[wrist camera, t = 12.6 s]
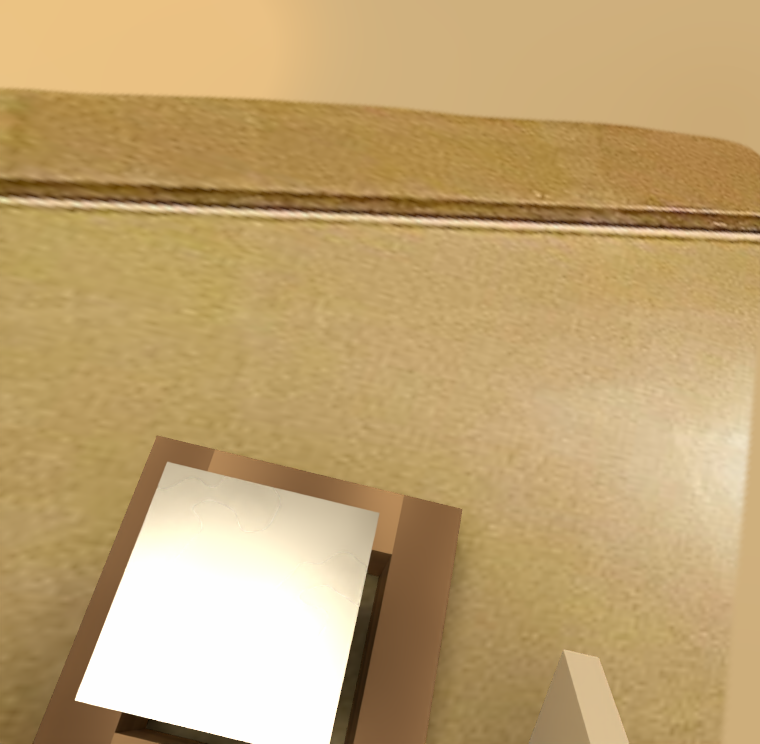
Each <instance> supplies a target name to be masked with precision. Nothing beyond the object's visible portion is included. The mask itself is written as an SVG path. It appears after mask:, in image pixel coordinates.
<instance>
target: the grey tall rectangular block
mask: <svg viewBox="0 0 760 744" xmlns="http://www.w3.org/2000/svg"><path fill="white" fill-rule="evenodd" d="M378 518H379V513H377V512H373V511H369V510H365V509H361V508H357V507H353V506H348V505H344V504H340V503H336V502H332V501H328V500H324V499H319V498H315V497H311V496H307V495H303V494H299V493H295V492H290V491H286V490H282V489H278V488H274V487H270V486H266V485H261V484H257V483H253V482H249V481H245V480H241V479H236V478H232V477H228V476H224V475H220V474H216V473H212V472H207V471H203V470H199V469H195V468H191V467H187V466H183V465H178V464H174V463H170V462H167V464H166V466H165V469H164V471H163V474H162V477H161V479H160V482H159V484H158V487H157V489H156V492H155V495H154V497H153V500H152V502H151V505H150V507H149V510H148V513H147V515H146V518H145V520H144V523H143V526H142V528H141V531H140V533H139V536H138V538H137V541H136V544H135V546H134V549H133V551H132V554H131V556H130V559H129V562H128V564H127V567H126V569H125V572H124V575H123V577H122V580H121V582H120V585H119V587H118V590H117V593H116V595H115V598H114V600H113V603H112V605H111V608H110V611H109V613H108V616H107V618H106V621H105V623H104V626H103V629H102V631H101V634H100V636H99V639H98V642H97V644H96V647H95V649H94V652H93V654H92V657H91V660H90V662H89V665H88V667H87V670H86V672H85V675H84V678H83V680H82V683H81V685H80V688H79V691H78V693H77V696H76V698H75V700H76V701H80V702H84V703H88V704H92V705H97V706H101V707H105V708H109V709H113V710H117V711H121V712H125V713H129V714H134V715H138V716H142V717H146V718H150V719H154V720H158V721H162V722H166V723H171V724H175V725H179V726H183V727H187V728H191V729H195V730H199V731H203V732H208V733H212V734H216V735H220V736H224V737H228V738H232V739H236V740H240V741H245V742H249V743H253V744H329V743H330V738H331V734H332V729H333V724H334V720H335V715H336V711H337V706H338V701H339V697H340V692H341V688H342V683H343V679H344V674H345V669H346V665H347V660H348V656H349V651H350V646H351V642H352V637H353V633H354V628H355V623H356V619H357V614H358V610H359V605H360V601H361V596H362V591H363V587H364V582H365V578H366V573H367V568H368V564H369V559H370V555H371V550H372V546H373V541H374V536H375V532H376V527H377V523H378Z"/></svg>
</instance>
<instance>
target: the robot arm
mask: <svg viewBox="0 0 760 744" xmlns="http://www.w3.org/2000/svg"><path fill="white" fill-rule="evenodd" d="M529 744H629V742H628V739H627V736H626V733H625V730H624V727H623V725H622V722H621V719H620V716H619V713H618V711H617V708H616V705H615V702H614V699H613V696H612V694H611V691H610V688H609V685H608V682H607V679H606V677H605V674H604V671H603V668H602V665H601V662H600V660H599V657H595V656H590V655H586V654H582V653H577V652H573V651H569V650H565V649H563V652H562V654H561V657H560V660H559V662H558V665H557V668H556V671H555V673H554V676H553V679H552V681H551V684H550V687H549V689H548V692H547V695H546V698H545V700H544V703H543V706H542V708H541V711H540V714H539V717H538V719H537V722H536V725H535V727H534V730H533V733H532V735H531V738H530V741H529Z"/></svg>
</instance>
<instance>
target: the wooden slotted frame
mask: <svg viewBox="0 0 760 744" xmlns="http://www.w3.org/2000/svg"><path fill="white" fill-rule="evenodd" d="M167 462H170V463H174V464H178V465H183V466H187V467H191V468H195V469H199V470H203V471H207V472H212V473H216V474H220V475H224V476H228V477H232V478H236V479H241V480H245V481H249V482H253V483H257V484H261V485H266V486H270V487H274V488H278V489H282V490H286V491H290V492H295V493H299V494H303V495H307V496H311V497H315V498H319V499H324V500H328V501H332V502H336V503H340V504H344V505H348V506H353V507H357V508H361V509H365V510H369V511H373V512H377V513H379V518H378V523H377V527H376V532H375V536H374V541H373V546H372V550H371V555H370V559H369V564H368V568H367V574H371V575H376V576H379V580H378V585H377V590H376V594H375V599H374V604H373V609H372V613H371V618H370V623H369V628H368V633H367V637H366V642H365V647H364V652H363V657H362V661H361V666H360V671H359V676H358V680H357V685H356V690H355V695H354V700H353V704H352V709H351V714H350V719H349V723H348V728H347V733H346V738H345V743H344V744H425V741H426V735H427V729H428V723H429V716H430V710H431V704H432V697H433V691H434V685H435V678H436V672H437V666H438V659H439V653H440V647H441V641H442V634H443V628H444V622H445V615H446V609H447V603H448V596H449V590H450V584H451V577H452V571H453V565H454V559H455V552H456V546H457V540H458V533H459V527H460V521H461V514H462V509H460V508H455V507H451V506H447V505H443V504H439V503H435V502H430V501H426V500H422V499H418V498H414V497H410V496H406V495H401V494H397V493H393V492H389V491H385V490H381V489H377V488H372V487H368V486H364V485H360V484H356V483H352V482H348V481H343V480H339V479H335V478H331V477H327V476H323V475H319V474H314V473H310V472H306V471H302V470H298V469H294V468H290V467H285V466H281V465H277V464H273V463H269V462H265V461H261V460H256V459H252V458H248V457H244V456H240V455H236V454H231V453H227V452H223V451H219V450H215V449H211V448H207V447H202V446H198V445H194V444H190V443H186V442H182V441H178V440H173V439H169V438H165V437H161V436H157V437H156V440H155V442H154V445H153V447H152V449H151V452H150V454H149V457H148V459H147V462H146V464H145V467H144V469H143V472H142V474H141V477H140V479H139V482H138V484H137V487H136V489H135V492H134V494H133V497H132V499H131V501H130V504H129V506H128V509H127V511H126V514H125V516H124V519H123V521H122V524H121V526H120V529H119V531H118V534H117V536H116V539H115V541H114V544H113V546H112V549H111V551H110V553H109V556H108V558H107V561H106V563H105V566H104V568H103V571H102V573H101V576H100V578H99V581H98V583H97V586H96V588H95V591H94V593H93V596H92V598H91V601H90V603H89V606H88V608H87V610H86V613H85V615H84V618H83V620H82V623H81V625H80V628H79V630H78V633H77V635H76V638H75V640H74V643H73V645H72V648H71V650H70V653H69V655H68V658H67V660H66V662H65V665H64V667H63V670H62V672H61V675H60V677H59V680H58V682H57V685H56V687H55V690H54V692H53V695H52V697H51V700H50V702H49V705H48V707H47V710H46V712H45V714H44V717H43V719H42V722H41V724H40V727H39V729H38V732H37V734H36V737H35V739H34V742H33V744H207V743H203V742H199V741H194V740H190V739H186V738H182V737H178V736H174V735H170V734H166V733H162V732H158V731H153V730H149V729H145V728H146V725H147V722H148V719H149V718H146V717H142V716H138V715H134V714H129V713H125V712H121V711H117V710H113V709H109V708H105V707H101V706H97V705H92V704H88V703H84V702H80V701H76V700H75V698H76V696H77V693H78V691H79V688H80V685H81V683H82V680H83V678H84V675H85V672H86V670H87V667H88V665H89V662H90V660H91V657H92V654H93V652H94V649H95V647H96V644H97V642H98V639H99V636H100V634H101V631H102V629H103V626H104V623H105V621H106V618H107V616H108V613H109V611H110V608H111V605H112V603H113V600H114V598H115V595H116V593H117V590H118V587H119V585H120V582H121V580H122V577H123V575H124V572H125V569H126V567H127V564H128V562H129V559H130V556H131V554H132V551H133V549H134V546H135V544H136V541H137V538H138V536H139V533H140V531H141V528H142V526H143V523H144V520H145V518H146V515H147V513H148V510H149V507H150V505H151V502H152V500H153V497H154V495H155V492H156V489H157V487H158V484H159V482H160V479H161V477H162V474H163V471H164V469H165V466H166V464H167Z"/></svg>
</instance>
